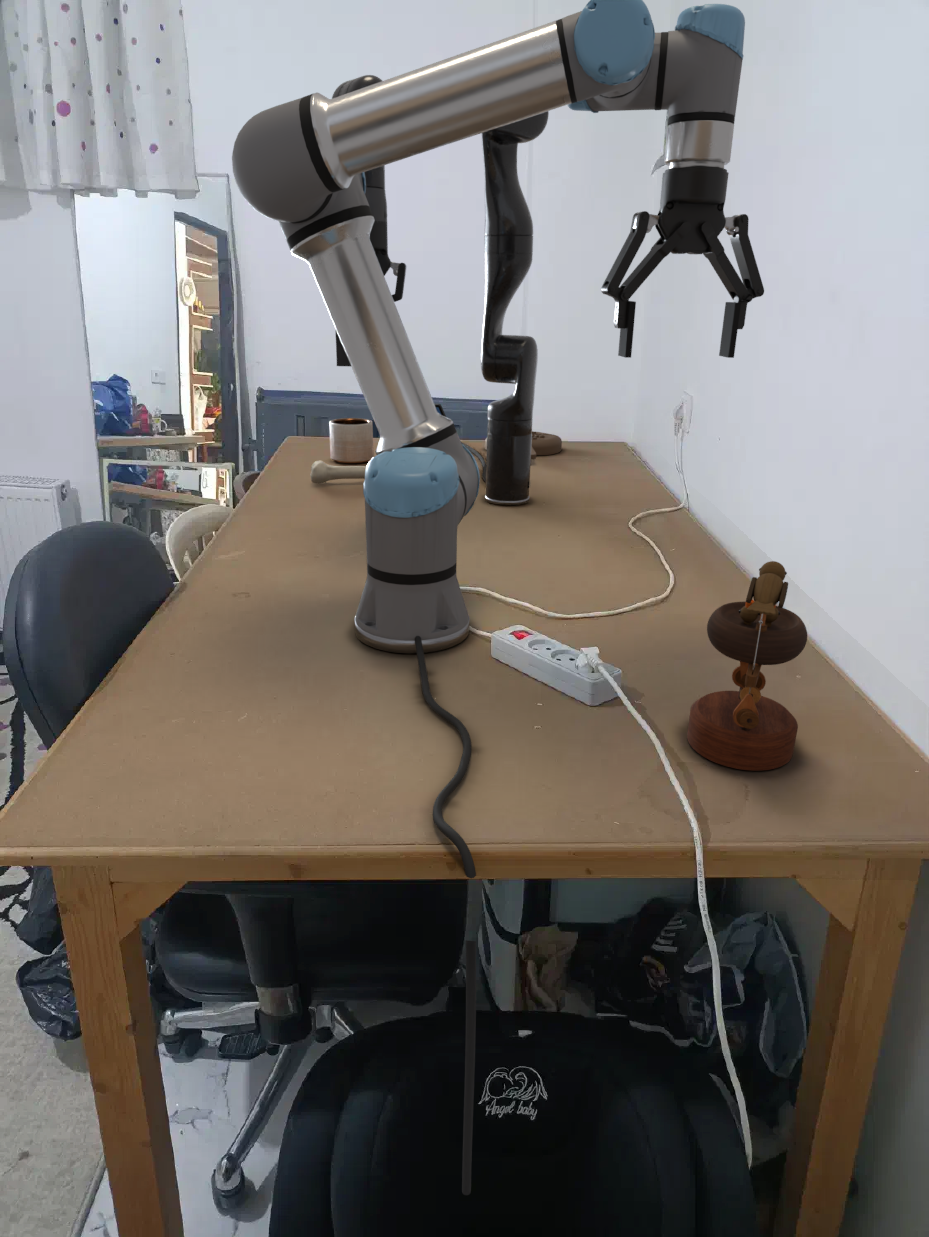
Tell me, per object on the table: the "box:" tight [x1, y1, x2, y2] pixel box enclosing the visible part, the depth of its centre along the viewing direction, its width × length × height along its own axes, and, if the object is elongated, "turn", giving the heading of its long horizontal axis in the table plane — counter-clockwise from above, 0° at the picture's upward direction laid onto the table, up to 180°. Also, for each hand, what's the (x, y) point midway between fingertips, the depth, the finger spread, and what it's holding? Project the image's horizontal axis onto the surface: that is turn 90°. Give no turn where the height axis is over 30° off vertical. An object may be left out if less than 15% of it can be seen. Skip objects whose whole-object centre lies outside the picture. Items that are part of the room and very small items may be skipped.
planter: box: [328, 417, 375, 464], centre depth 212 cm, size 11×11×10 cm
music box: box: [686, 560, 808, 772], centre depth 84 cm, size 15×11×20 cm
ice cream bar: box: [484, 431, 563, 460], centre depth 224 cm, size 21×28×4 cm
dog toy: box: [309, 460, 367, 485], centre depth 190 cm, size 20×6×5 cm, turn 99°
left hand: (675, 357), depth 107 cm, fingers open, 13 cm apart
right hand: (367, 327), depth 145 cm, fingers closed on box, 6 cm apart
